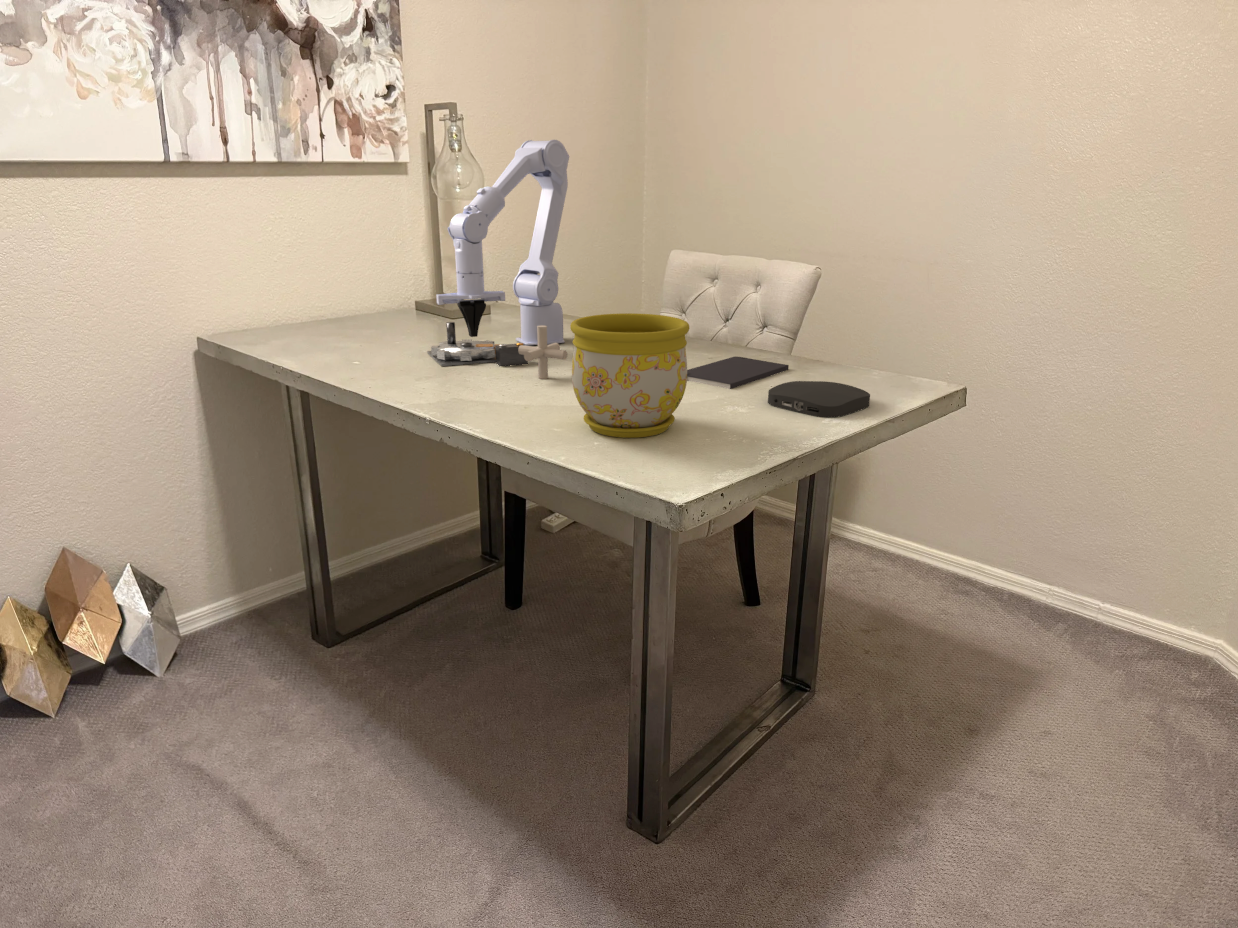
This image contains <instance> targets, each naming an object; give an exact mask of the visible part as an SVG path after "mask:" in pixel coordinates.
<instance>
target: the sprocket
mask: <svg viewBox="0 0 1238 928" xmlns="http://www.w3.org/2000/svg"><path fill="white" fill-rule="evenodd" d="M445 324H446V340H445V341H441V342H438V345H431V346H430V351H431V354H432V355H437V359H443V360H446V359H461V361H472V359H479V358H486V359H489V358H493V357H495V354H496V350H495V345H500V344H501V343H498V344H497V343H496V344H495V341H493V340H488V339H487V340H473V339H471V338H469V339H467V338H466V339H461V340H457V337H456V336H457V335H456V323H455V321H447V322H446V323H445Z"/></svg>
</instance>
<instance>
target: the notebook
mask: <svg viewBox="0 0 1238 928" xmlns="http://www.w3.org/2000/svg"><path fill="white" fill-rule="evenodd" d="M786 370H787V371H789V364H784V363H778V362H774V361H773V362H772V361H767V360H761V359H755V358H751V357H750V358H749V357H744V356H743V357H742V356H731V357H728V358H724V359H721V360H718V361H714V362H710V363H707V364H704V365H700V366H696V367H693V368H690V369H689V368H688V369H687V382H688V381H689V382H694V383H697V384H698V383H699V384H702V385H709V386H714V387H719V388H725V389H729V390H732V389H736V388H739V387H741V386H745V385H747V384H751V383H753V382H756V381H760V380H762V379H765V378H768V377H771V375H772V376H775V375H777V373H778V374H780V372H781V373H782V372H783V371H784V372H785V371H786ZM774 374H775V375H774Z"/></svg>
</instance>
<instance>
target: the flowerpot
mask: <svg viewBox="0 0 1238 928" xmlns="http://www.w3.org/2000/svg"><path fill="white" fill-rule="evenodd" d="M569 327H570V331H571V332H572V333H573V335H574V338H573V339H572V345H573V354H572V358H571V359H572V361H571V382H572V388H573V392H574V396H575V398H576V400H577V402H578V404H579V405H580V407H581V408H582V410H583V411H584V412H585V414H584V415H583V417H582V418H583V422H585V423H586V424H587V425H588V427H589V428H590V430H591V431H593V432H595V433H596V434H599V435H603V436H607V437H612V438H623V439H631V438H632V439H635V438H636V439H637V438H647V437H653V436H657V435H660V434H663V433H664V432H666V431H667V430H668V429H669V427H670V426H672V424H673V423H674V422H675V420H676V419H675V418H676V417H675V416H674V415H673V413H674V412H675V411H676V410H677V408H678V407H679V406H680V404H681V402H682V399H683V397H684V395H685V392H686V387H687V382H688V380H687V370H688V359H687V350H686V346H687V343H688V342H687V339H686V335H687V334H688V333H689V331H690V324H689V323H688V322H687V321H686V320H684V319H682V318H678V317H674V316H669V315H664V314H663V315H662V314H651V313H630V312H629V313H625V312H624V313H620V312H619V313H606V314H605V313H604V314H596V315H588V316H583V317H579V318H577V319H574V320H573V321H571V323H570V326H569Z"/></svg>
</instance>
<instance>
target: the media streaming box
mask: <svg viewBox="0 0 1238 928" xmlns="http://www.w3.org/2000/svg"><path fill="white" fill-rule="evenodd" d="M767 393H768V395H767V396H768V397H767V404H768V405H770V406H772V407H775V408H778V409H779V408H780V409H784V410H787V411H791V412H795V413H800V414H805V415H809V416H813V417H818V416H819V418H839V417H838V416H840V417H844V416H846V414H847V415H850V414H853V413H856V412H859V411H862V410H864V409H867V408H868V406H869V407H870V400H871V393H869V392H868V391H866V390H864V389H861V388H858V387H857V386H853V385H851V384H845V383H841V382H835V381H834V382H833V381H824V380H823V381H822V380H821V381H819V380H817V381H816V380H815V381H814V380H813V381H812V380H810V381H809V380H808V381H807V380H805V381H804V380H796V381H795V380H794V381H787V382H784V383H781V384H778V385H774V386H773V387H771V388H769V390H768V392H767ZM866 407H867V408H866ZM861 409H862V410H861ZM858 410H859V411H858ZM855 411H856V412H855ZM849 413H850V414H849ZM843 415H844V416H843Z"/></svg>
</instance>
